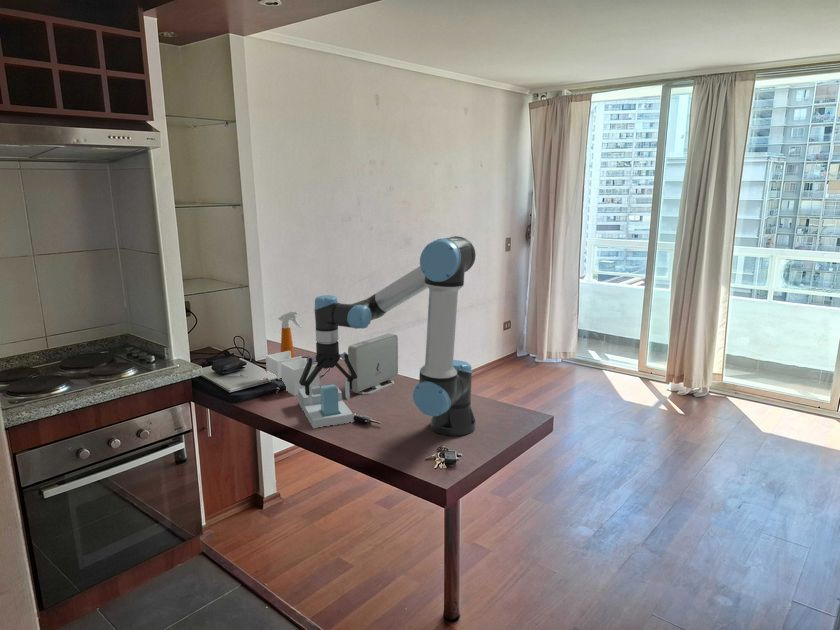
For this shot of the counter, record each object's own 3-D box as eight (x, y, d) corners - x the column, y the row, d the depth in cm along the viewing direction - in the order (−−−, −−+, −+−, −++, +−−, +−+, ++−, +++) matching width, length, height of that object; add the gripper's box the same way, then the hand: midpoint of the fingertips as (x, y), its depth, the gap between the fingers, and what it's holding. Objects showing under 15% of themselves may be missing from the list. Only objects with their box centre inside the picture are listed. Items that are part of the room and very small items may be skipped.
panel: (353, 422, 195) (353, 405, 194) (313, 428, 189) (312, 411, 188) (335, 398, 216) (334, 384, 215) (298, 404, 211) (298, 389, 210)
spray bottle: (301, 370, 250) (298, 312, 244) (277, 370, 251) (274, 312, 245) (305, 366, 257) (303, 309, 251) (282, 365, 258) (279, 309, 252)
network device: (360, 398, 217) (359, 348, 213) (344, 393, 222) (342, 344, 218) (402, 380, 237) (401, 334, 233) (386, 376, 242) (385, 331, 238)
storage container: (267, 380, 238) (265, 355, 236) (290, 375, 245) (289, 350, 243) (295, 396, 219) (293, 369, 217) (319, 390, 226) (318, 364, 224)
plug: (338, 421, 195) (337, 388, 193) (324, 423, 193) (323, 390, 191) (334, 415, 201) (333, 383, 198) (320, 417, 199) (319, 385, 196)
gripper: (358, 335, 199) (360, 392, 203) (288, 342, 189) (291, 402, 194) (365, 340, 192) (366, 399, 197) (292, 347, 182) (295, 410, 187)
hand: (329, 401), depth 195 cm, fingers open, 12 cm apart
